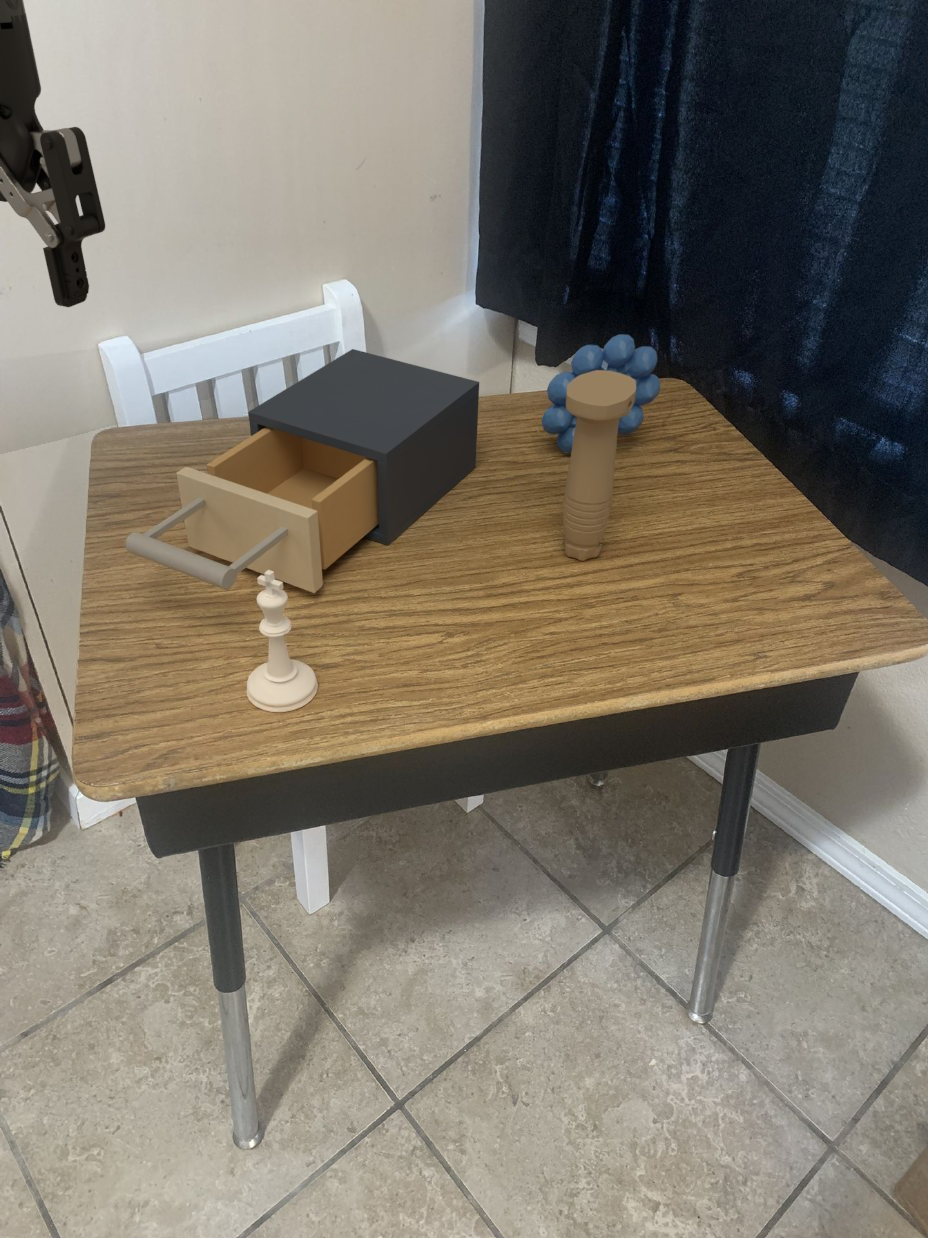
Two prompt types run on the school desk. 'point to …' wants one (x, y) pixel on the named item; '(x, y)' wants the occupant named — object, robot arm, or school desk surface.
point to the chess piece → (278, 657)
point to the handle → (593, 457)
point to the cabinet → (386, 428)
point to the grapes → (613, 358)
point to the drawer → (269, 511)
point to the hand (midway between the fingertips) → (22, 293)
